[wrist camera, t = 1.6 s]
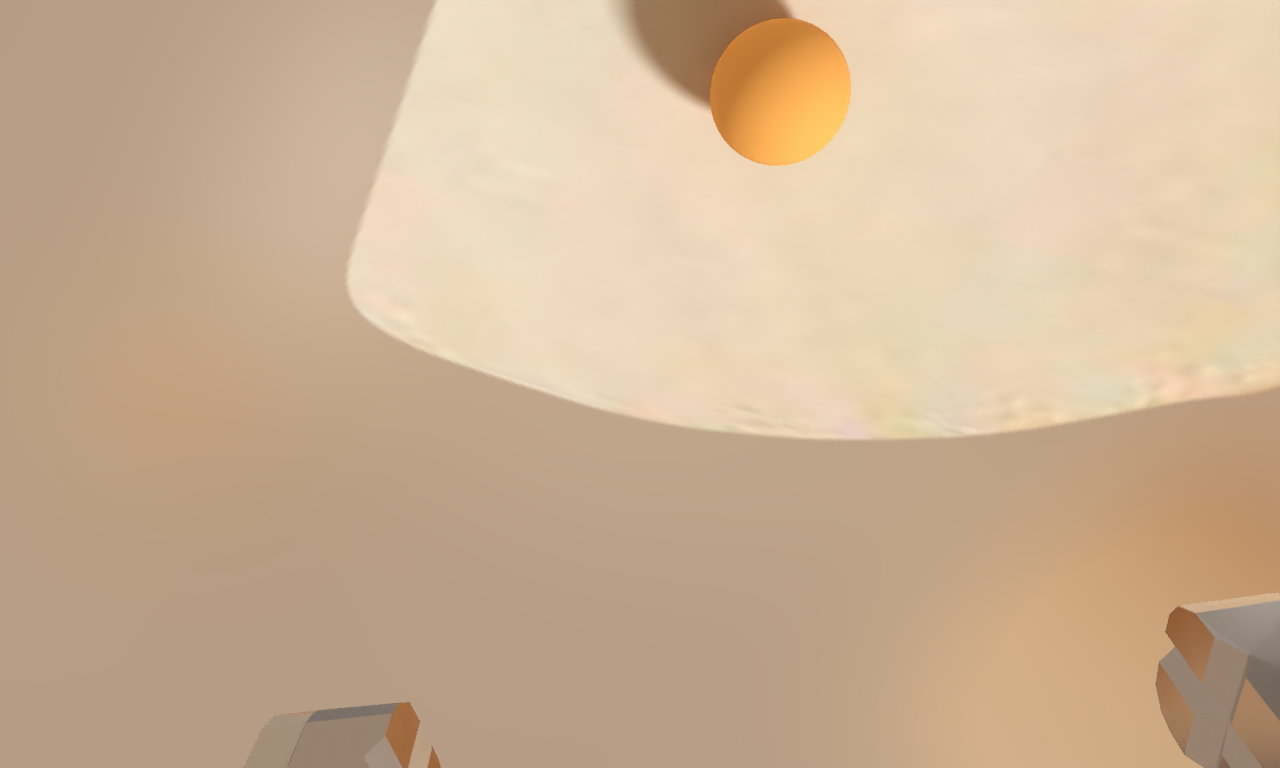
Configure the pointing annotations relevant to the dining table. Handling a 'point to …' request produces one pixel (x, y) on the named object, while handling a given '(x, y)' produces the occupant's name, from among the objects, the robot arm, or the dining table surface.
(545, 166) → the dining table surface
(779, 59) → the ball
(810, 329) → the dining table surface
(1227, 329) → the dining table surface
